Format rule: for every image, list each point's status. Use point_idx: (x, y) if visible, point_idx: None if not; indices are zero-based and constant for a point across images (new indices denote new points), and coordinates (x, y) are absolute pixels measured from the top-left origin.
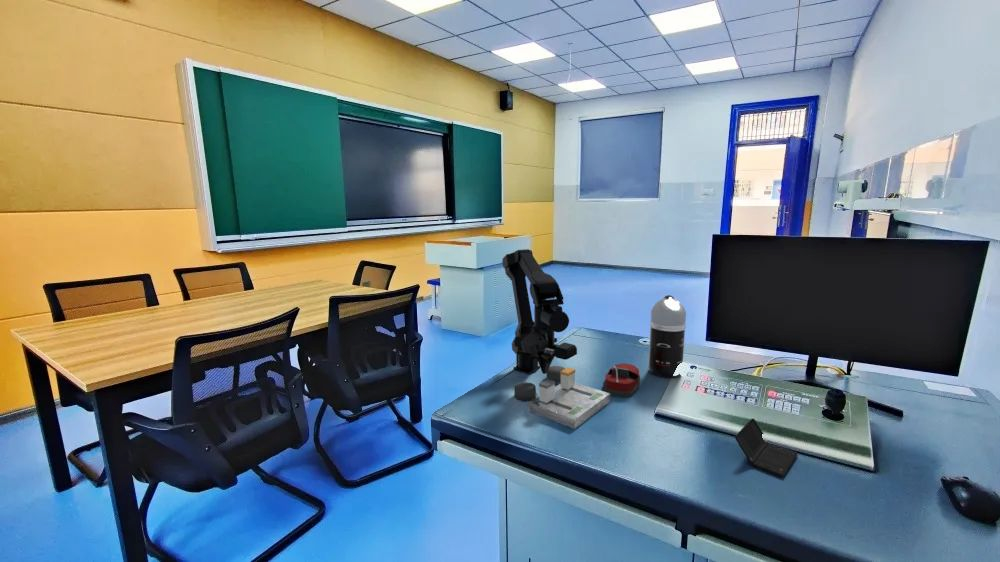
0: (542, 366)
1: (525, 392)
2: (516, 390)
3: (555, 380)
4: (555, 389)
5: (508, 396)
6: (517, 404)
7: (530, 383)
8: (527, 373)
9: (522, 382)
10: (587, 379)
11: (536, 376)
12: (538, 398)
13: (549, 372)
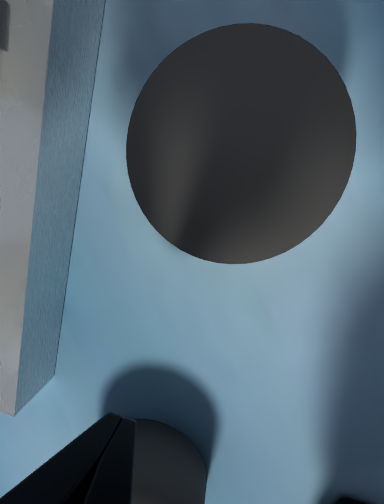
0: (83, 501)
1: (185, 50)
2: (296, 43)
3: None
4: (1, 247)
5: (366, 108)
6: (239, 8)
7: (211, 250)
8: (349, 499)
9: (297, 241)
10: None
11: (275, 474)
12: (31, 6)
13: (152, 493)
